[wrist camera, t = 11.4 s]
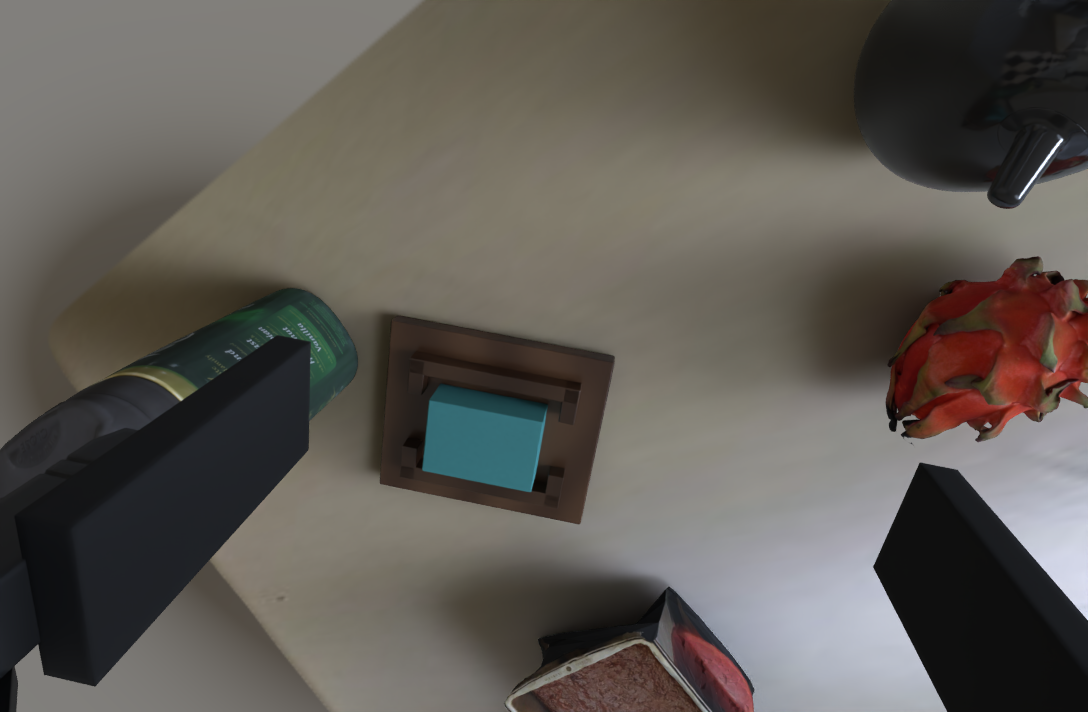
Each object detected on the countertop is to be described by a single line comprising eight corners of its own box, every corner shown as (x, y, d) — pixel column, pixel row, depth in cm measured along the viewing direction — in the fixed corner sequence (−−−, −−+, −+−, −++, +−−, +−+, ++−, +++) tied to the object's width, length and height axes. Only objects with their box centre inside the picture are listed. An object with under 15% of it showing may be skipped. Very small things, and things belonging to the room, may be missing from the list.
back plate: (385, 475, 46) (372, 493, 44) (397, 314, 42) (384, 326, 39) (581, 514, 45) (578, 536, 43) (614, 355, 41) (614, 370, 39)
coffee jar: (306, 264, 41) (74, 379, 24) (381, 366, 43) (216, 540, 26) (200, 337, 44) (-77, 487, 27) (274, 430, 46) (62, 625, 29)
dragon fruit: (1059, 259, 37) (868, 377, 43) (1027, 190, 32) (812, 336, 37) (1182, 377, 32) (947, 493, 38) (1170, 320, 27) (896, 466, 32)
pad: (433, 450, 44) (421, 471, 41) (440, 382, 42) (428, 400, 39) (536, 471, 43) (530, 493, 41) (548, 403, 41) (543, 422, 39)
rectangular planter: (611, 739, 55) (628, 875, 46) (488, 613, 48) (481, 745, 39) (767, 671, 52) (818, 804, 43) (660, 526, 45) (694, 648, 36)
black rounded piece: (786, 112, 35) (894, 119, 21) (934, -84, 31) (1189, -239, 17) (934, 221, 36) (1133, 297, 22) (1095, 44, 32) (1460, -2, 18)
